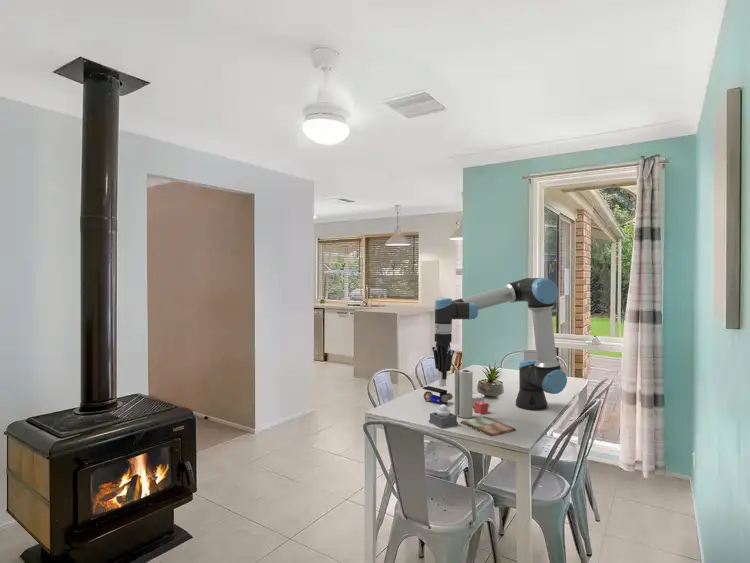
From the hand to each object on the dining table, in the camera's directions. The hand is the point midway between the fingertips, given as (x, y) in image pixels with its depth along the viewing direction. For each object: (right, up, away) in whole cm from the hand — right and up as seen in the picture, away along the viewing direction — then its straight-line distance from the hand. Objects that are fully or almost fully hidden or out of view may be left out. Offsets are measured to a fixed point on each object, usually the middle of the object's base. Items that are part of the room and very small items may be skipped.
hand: (442, 386), depth 200 cm
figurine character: (+2, -17, +34) cm, 37 cm away
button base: (0, -17, 0) cm, 17 cm away
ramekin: (+20, -17, +29) cm, 39 cm away
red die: (+21, -16, +17) cm, 31 cm away
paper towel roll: (+12, -17, +10) cm, 23 cm away
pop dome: (0, -13, 0) cm, 13 cm away
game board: (+19, -17, -4) cm, 26 cm away
